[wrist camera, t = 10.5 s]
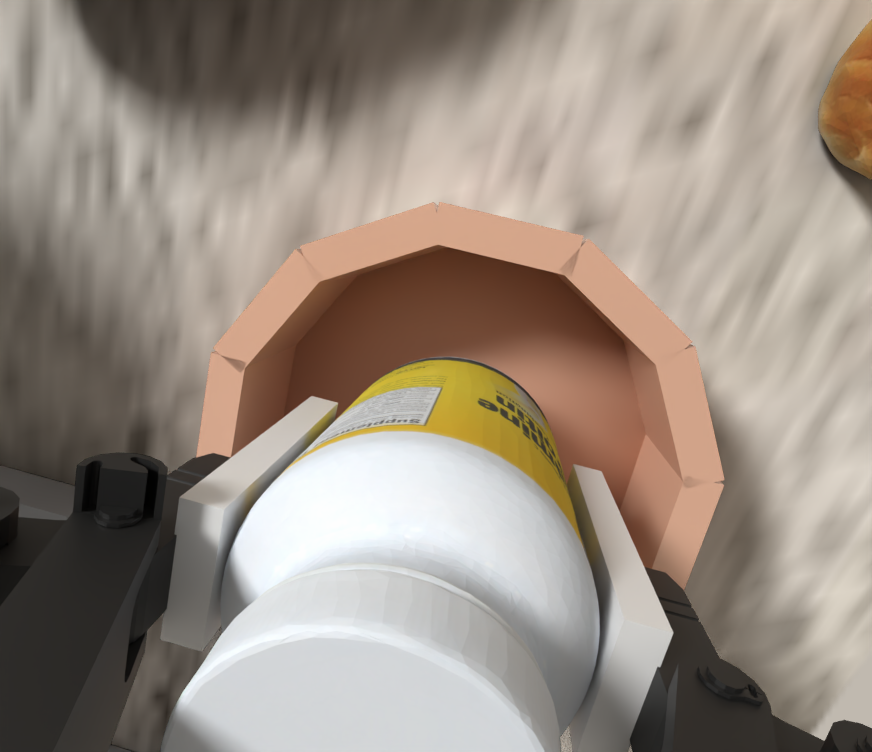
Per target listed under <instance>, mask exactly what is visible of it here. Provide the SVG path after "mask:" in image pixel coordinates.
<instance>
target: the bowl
mask: <svg viewBox="0 0 872 752" xmlns="http://www.w3.org/2000/svg"><path fill="white" fill-rule="evenodd" d="M583 237H584V236H581V235H577V234H573V233H569V232H564V231H560V230H556V229H552V228H547V227H543V226H539V225H535V224H531V223H526V222H522V221H518V220H514V219H509V218H505V217H501V216H497V215H492V214H488V213H484V212H480V211H475V210H471V209H467V208H463V207H459V206H454V205H450V204H446V203H442V202H439V206H438V205H437V204H435V203H434V202H433V203H430V204H427V205H424V206H421V207H418V208H415V209H411V210H408V211H405V212H402V213H399V214H396V215H393V216H390V217H387V218H384V219H381V220H378V221H375V222H372V223H369V224H366V225H363V226H359V227H356V228H353V229H350V230H347V231H344V232H341V233H338V234H335V235H332V236H329V237H326V238H323V239H320V240H317V241H314V242H310V243H307V244H304V245H301V246H300V247H301V249H295V250H294V251H293V253H292V254H291V255H290V256H289V257H288V259H287V260H286V261H285V262H284V263H283V265H282V266H281V267H280V268H279V269H278V271H277V272H276V273H275V274H274V275H273V277H272V278H271V279H270V280H269V281H268V283H267V284H266V285H265V286H264V287H263V289H262V290H261V291H260V292H259V293H258V295H257V296H256V297H255V298H254V299H253V301H252V302H251V303H250V304H249V305H248V307H247V308H246V309H245V310H244V311H243V313H242V314H241V315H240V316H239V317H238V319H237V320H236V321H235V322H234V323H233V325H232V326H231V327H230V328H229V329H228V331H227V332H226V333H225V334H224V335H223V337H222V338H221V339H220V340H219V341H218V343H217V344H216V345H215V346H214V347H213V349H214V350H215V351H214V352H212V353H211V356H210V363H209V370H208V377H207V384H206V391H205V398H204V405H203V412H202V419H201V427H200V434H199V441H198V448H197V455H196V457H200V456H204V455H207V454H211V453H216V454H220V455H223V456H227V457H233V456H234V455H235V454H237V453H238V452H239V451H240V450H242V449H243V448H244V447H246V446H247V445H248V444H250V443H251V442H252V441H253V440H255V439H256V438H257V437H259V436H260V435H261V434H263V433H264V432H265V431H267V430H268V429H269V428H270V427H272V426H273V425H274V424H276V423H277V422H278V421H280V420H281V419H282V418H283V417H285V416H286V415H287V414H289V413H290V412H291V411H293V410H294V409H295V408H296V407H298V406H299V405H300V404H302V403H303V402H304V401H306V400H307V399H308V398H310V397H311V396H314V397H318V398H322V399H325V400H329V401H333V402H337V403H338V407H337V412H336V417H335V420H336V419H337V418H338V417H339V416H340V415H341V414H342V413H343V412H344V411H345V410H346V409H347V408H348V407H349V406H350V405H351V404H352V403H353V402H354V401H355V400H356V399H357V398H358V397H359V396H360V395H361V394H362V393H363V392H364V391H365V390H367V389H368V388H369V387H370V386H371V385H372V384H373V383H374V382H375V381H376V380H378V379H379V378H381V377H382V376H383V375H385V374H386V373H388V372H390V371H392V370H394V369H396V368H398V367H399V366H402V365H404V364H407V363H409V362H413V361H416V360H420V359H426V358H432V357H458V358H466V359H471V360H475V361H478V362H481V363H484V364H486V365H489V366H491V367H493V368H496V369H498V370H500V371H501V372H503V373H505V374H506V375H508V376H509V377H511V378H512V379H513V380H515V381H516V382H517V383H518V384H520V385H521V386H522V387H523V388H524V389H525V390H526V391H527V392H528V393H529V394H530V396H531V397H532V398H533V399H534V400H535V402H536V403H537V404H538V406H539V407H540V409H541V410H542V412H543V414H544V416H545V418H546V419H547V422H548V424H549V426H550V428H551V431H552V434H553V437H554V440H555V443H556V447H557V451H558V455H559V459H560V462H561V466H562V469H563V473H564V477H565V481H566V484H567V482H568V479H569V476H570V473H571V469H572V466H573V464H576V465H580V466H583V467H587V468H591V469H595V470H599V471H602V474H603V476H604V478H605V480H606V483H607V485H608V487H609V489H610V492H611V494H612V496H613V498H614V501H615V503H616V505H617V507H618V509H619V512H620V514H621V516H622V518H623V521H624V523H625V525H626V527H627V530H628V532H629V534H630V536H631V539H632V541H633V543H634V545H635V548H636V550H637V552H638V554H639V557H640V559H641V561H642V563H643V566H644V567H647V568H651V569H655V570H658V571H662V572H666V573H667V574H668V575H669V576H670V577H671V578H672V579H673V580H674V581H675V582H676V583H677V584H678V585H679V586H680V587H681V588H682V589H683V590H684V589H685V587H686V584H687V581H688V579H689V576H690V574H691V571H692V568H693V566H694V563H695V561H696V558H697V555H698V553H699V550H700V547H701V545H702V542H703V540H704V537H705V534H706V532H707V529H708V527H709V524H710V521H711V519H712V516H713V513H714V511H715V508H716V506H717V503H718V500H719V498H720V495H721V493H722V490H723V487H724V485H723V484H722V483H721V481H723V480H725V479H724V475H723V470H722V466H721V461H720V457H719V452H718V448H717V443H716V438H715V434H714V429H713V425H712V420H711V416H710V411H709V407H708V402H707V397H706V393H705V388H704V384H703V379H702V375H701V370H700V366H699V361H698V357H697V352H696V347H695V346H693V345H691V343H692V341H691V340H690V339H689V338H688V337H687V336H686V335H685V334H684V333H683V332H682V331H681V330H680V329H679V328H678V327H677V326H676V325H675V324H674V323H673V322H672V321H671V320H670V319H669V318H668V317H667V316H666V315H665V314H664V313H663V312H662V311H661V310H660V309H659V308H658V307H657V306H656V305H655V304H654V303H653V302H652V301H651V300H650V299H649V298H648V297H647V296H646V295H645V294H644V293H643V292H642V291H641V290H640V289H639V288H638V287H637V286H636V285H635V284H634V283H633V282H632V281H631V280H630V279H629V278H628V277H627V276H626V275H625V274H624V273H623V272H622V271H621V270H620V269H619V268H618V267H617V266H616V265H615V264H614V263H613V262H612V261H611V260H610V259H609V258H608V257H607V256H606V255H605V254H604V253H603V252H602V251H601V250H600V249H599V248H598V247H597V246H596V245H595V244H594V243H593V242H592V241H591V240H590V239H585V240H583Z"/></svg>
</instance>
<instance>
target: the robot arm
mask: <svg viewBox="0 0 872 752" xmlns="http://www.w3.org/2000/svg"><path fill="white" fill-rule="evenodd" d="M337 407H338V403H337V402H333V401H329V400H325V399H322V398H318V397H314V396H311V397H310V398H308V399H307V400H306V401H304V402H303V403H302V404H300V405H299V406H298V407H296V408H295V409H294V410H293V411H291V412H290V413H289V414H287V415H286V416H285V417H283V418H282V419H281V420H280V421H278V422H277V423H276V424H274V425H273V426H272V427H270V428H269V429H268V430H267V431H265V432H264V433H263V434H261V435H260V436H259V437H257V438H256V439H255V440H253V441H252V442H251V443H250V444H248V445H247V446H246V447H244V448H243V449H242V450H240V451H239V452H238V453H237V454H235V455H234V456H233V457H227V456H223V455H220V454H216V453H211V454H207V455H204V456H200V457H196V458H193V459H191V460H190V461H188V462H187V463H185V464H184V465H182V466H181V467H179V468H178V470H175V471H173V472H172V473H170V474H169V475H167V467H166V466H165V465H164V464H163V463H162V462H161V461H159V460H157V459H154V458H152V457H150V456H145V455H140V454H135V453H110V454H101V455H97V456H94V457H91V458H88V459H85V460H84V461H82V462H81V463H79V464H78V465H77V470H76V481H75V493H74V504H73V512H72V514H71V515H70V516H69V518H68V519H67V520H50V519H38V518H25V517H19V502H20V498H19V497H18V496H17V495H16V494H15V493H14V492H13V491H11V490H8V489H6V488H3V487H0V752H108V750H109V747H110V744H111V742H112V739H113V736H114V733H115V731H116V728H117V725H118V723H119V720H120V717H121V714H122V712H123V709H124V706H125V704H126V701H127V698H128V695H129V693H130V690H131V687H132V685H133V682H134V679H135V676H136V674H137V671H138V668H139V666H140V663H141V660H142V657H143V655H144V652H145V644H146V636H147V630H148V629H149V627H150V626H151V625H152V624H153V623H154V622H155V621H156V620H157V619H158V618H159V617H160V616H161V615H162V614H163V612H164V615H163V622H162V630H161V637H160V640H163V641H166V642H170V643H173V644H177V645H180V646H183V647H187V648H190V649H194V650H197V651H201V652H202V651H203V650H204V648H205V647H206V646H207V644H208V643H209V642H210V640H211V639H212V638H213V636H214V635H215V634H216V632H217V631H218V629H219V628H220V627H221V611H220V602H221V589H222V581H223V576H224V571H225V565H226V562H227V559H228V555H229V552H230V549H231V546H232V544H233V541H234V539H235V537H236V534H237V532H238V530H239V528H240V527H241V525H242V523H243V521H244V519H245V518H246V516H247V515H248V513H249V512H250V510H251V509H252V507H253V506H254V504H255V503H256V502H257V500H258V499H259V498H260V497H261V495H262V494H263V493H264V492H265V491H266V490H267V489H268V487H269V486H270V485H271V484H272V483H273V482H274V481H275V480H276V479H277V478H278V477H279V476H280V475H281V474H282V473H283V472H284V471H285V469H286V468H287V467H288V466H289V465H290V464H291V463H292V462H293V461H294V460H295V459H296V458H297V457H298V456H300V455H301V454H302V453H303V452H304V451H305V450H306V449H307V448H308V447H309V446H310V445H311V444H312V443H313V442H314V441H315V440H316V439H317V438H318V437H319V436H320V435H321V434H322V433H323V432H324V431H325V430H326V429H327V428H328V427H329V426H330V425H331V424H332V423H333V422H334V421H335V417H336V412H337ZM567 487H568V491H569V495H570V498H571V502H572V505H573V509H574V512H575V516H576V520H577V523H578V527H579V530H580V534H581V537H582V540H583V544H584V547H585V550H586V554H587V557H588V560H589V564H590V567H591V570H592V575H593V579H594V583H595V587H596V592H597V598H598V606H599V622H600V636H599V648H598V654H597V659H596V665H595V669H594V673H593V676H592V680H591V682H590V685H589V688H588V691H587V693H586V695H585V697H584V700H583V702H582V704H581V706H580V708H579V709H578V711H577V713H576V714H575V716H574V718H573V719H572V721H571V723H570V724H569V728H570V735H571V742H572V749H573V752H628V750H629V747H630V744H631V747H632V751H633V752H872V728H870V727H867V726H865V725H863V724H860V723H855V722H850V721H846V720H843V721H838V722H834V723H833V725H832V727H831V729H830V731H829V733H828V735H827V737H826V740H825V741H823V740H821V739H819V738H817V737H815V736H813V735H811V734H809V733H807V732H805V731H803V730H800V729H798V728H796V727H794V726H792V725H790V724H788V723H786V722H784V721H782V720H780V719H779V718H777V717H775V716H773V715H772V713H771V707H770V704H769V702H768V700H767V697H766V695H765V693H764V692H763V691H762V690H761V688H760V687H759V686H758V685H757V684H756V683H755V682H754V680H752V679H751V678H750V677H749V676H747V675H746V674H745V673H743V672H742V671H741V670H740V669H738V668H737V667H735V666H733V665H731V664H729V663H728V662H726V661H724V660H722V659H720V658H719V656H718V654H717V653H716V651H715V649H714V647H713V645H712V643H711V641H710V639H709V637H708V636H707V634H706V632H705V630H704V628H703V626H702V624H701V622H698V620H699V619H698V617H697V615H696V613H695V611H694V609H693V608H691V604H690V602H689V600H688V598H687V596H686V594H685V592H684V590H683V589H682V588H681V587H680V586H679V585H678V584H677V583H676V582H675V581H674V580H673V579H672V578H671V577H670V576H669V575H668V574H667V573H666V572H662V571H658V570H655V569H651V568H647V567H644V566H643V563H642V561H641V559H640V557H639V554H638V552H637V550H636V548H635V545H634V543H633V541H632V539H631V536H630V534H629V532H628V530H627V527H626V525H625V523H624V521H623V518H622V516H621V514H620V512H619V509H618V507H617V505H616V503H615V501H614V498H613V496H612V494H611V492H610V489H609V487H608V485H607V483H606V480H605V478H604V476H603V474H602V471H599V470H595V469H591V468H587V467H583V466H580V465H576V464H573V466H572V469H571V473H570V476H569V479H568V482H567Z"/></svg>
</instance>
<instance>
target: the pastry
mask: <svg viewBox="0 0 872 752" xmlns="http://www.w3.org/2000/svg"><path fill="white" fill-rule="evenodd" d="M818 129H819V132H820V134H821V136H822V138H823V139H824V141H825V142H826V144H827V146H828V148H829V150H830V151H831V153H832V154H833V156H834V157H835V158H836V159H837V160H838V161H839V162H840V163H841V164H843V165H844V166H846V167H848V168H850V169H852V170H854V171H856V172H858V173H860V174H862V175H863V176H865V177H867V178H868V179H871V180H872V20H871V21H870V22H869V23H868V24H867V25H866V26H865V28H864V29H863V30H862V31H861V33H860V34H859V35H858V37H857V38H856V39H855V40H854V42H853V43H852V44H851V45H850V47H849V48H848V49H847V51H846V52H845V54H844V55H843V56H842V58H841V59H840V61H839V62H838V64H837V66H836V67H835V70H834V72H833V75H832V77H831V79H830V82H829V84H828V86H827V89H826V91H825V93H824V95H823V97H822V99H821V102H820V105H819V110H818Z"/></svg>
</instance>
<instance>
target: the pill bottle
mask: <svg viewBox="0 0 872 752" xmlns="http://www.w3.org/2000/svg"><path fill="white" fill-rule="evenodd" d="M220 611H221V628H222V635H221V636H220V637H219V639H218V640H217V642H216V643H215V645H214V646H213V648H212V650H211V651H210V653H209V654H208V656H207V657H206V659H205V661H204V662H203V664H202V665H201V666H200V668H199V669H198V671H197V672H196V674H195V675H194V677H193V678H192V679H191V681H190V682H189V684H188V685H187V687H186V688H185V689H184V691H183V692H182V694H181V696H180V698H179V699H178V701H177V703H176V705H175V707H174V708H173V711H172V713H171V716H170V718H169V721H168V724H167V726H166V729H165V732H164V736H163V740H162V744H161V750H160V752H561V743H560V736H561V735H562V734H563V732H564V731H565V730H566V729H567V727H568V726H569V724H570V723H571V721H572V719H573V718H574V716H575V714H576V713H577V711H578V709H579V708H580V706H581V704H582V702H583V700H584V697H585V695H586V693H587V691H588V688H589V685H590V682H591V680H592V676H593V673H594V669H595V665H596V659H597V654H598V648H599V636H600V622H599V606H598V598H597V592H596V587H595V583H594V579H593V575H592V570H591V567H590V564H589V560H588V557H587V554H586V550H585V547H584V544H583V540H582V537H581V534H580V530H579V527H578V523H577V520H576V516H575V512H574V509H573V505H572V502H571V498H570V495H569V491H568V487H567V484H566V481H565V477H564V473H563V469H562V466H561V462H560V459H559V455H558V451H557V447H556V443H555V440H554V437H553V434H552V431H551V428H550V426H549V424H548V422H547V419H546V418H545V416H544V414H543V412H542V410H541V409H540V407H539V406H538V404H537V403H536V402H535V400H534V399H533V398H532V397H531V396H530V394H529V393H528V392H527V391H526V390H525V389H524V388H523V387H522V386H521V385H520V384H518V383H517V382H516V381H515V380H513V379H512V378H511V377H509V376H508V375H506V374H505V373H503V372H501V371H500V370H498V369H496V368H493V367H491V366H489V365H486V364H484V363H481V362H478V361H475V360H471V359H466V358H458V357H432V358H426V359H420V360H416V361H413V362H409V363H407V364H404V365H402V366H399V367H398V368H396V369H394V370H392V371H390V372H388V373H386V374H385V375H383V376H382V377H381V378H379V379H378V380H376V381H375V382H374V383H373V384H372V385H371V386H370V387H369V388H368V389H367V390H365V391H364V392H363V393H362V394H361V395H360V396H359V397H358V398H357V399H356V400H355V401H354V402H353V403H352V404H351V405H350V406H349V407H348V408H347V409H346V410H345V411H344V412H343V413H342V414H341V415H340V416H339V417H338V418H337V419H336V420H335V421H334V422H333V423H332V424H331V425H330V426H329V427H328V428H327V429H326V430H325V431H324V432H323V433H322V434H321V435H320V436H319V437H318V438H317V439H316V440H315V441H314V442H313V443H312V444H311V445H310V446H309V447H308V448H307V449H306V450H305V451H304V452H303V453H302V454H301V455H300V456H298V457H297V458H296V459H295V460H294V461H293V462H292V463H291V464H290V465H289V466H288V467H287V468H286V469H285V471H284V472H283V473H282V474H281V475H280V476H279V477H278V478H277V479H276V480H275V481H274V482H273V483H272V484H271V485H270V486H269V487H268V489H267V490H266V491H265V492H264V493H263V494H262V495H261V497H260V498H259V499H258V500H257V502H256V503H255V504H254V506H253V507H252V509H251V510H250V512H249V513H248V515H247V516H246V518H245V519H244V521H243V523H242V525H241V527H240V528H239V530H238V532H237V534H236V537H235V539H234V541H233V544H232V546H231V549H230V552H229V555H228V559H227V562H226V565H225V571H224V576H223V581H222V589H221V602H220Z"/></svg>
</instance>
